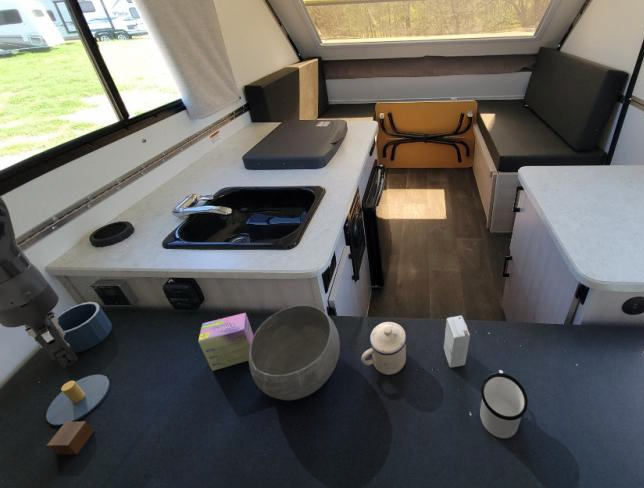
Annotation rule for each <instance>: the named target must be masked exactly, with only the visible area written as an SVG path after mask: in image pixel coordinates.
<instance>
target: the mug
mask: <svg viewBox="0 0 644 488" xmlns="http://www.w3.org/2000/svg"><path fill="white" fill-rule="evenodd" d="M480 396H481V402H480V407H479V416H480V420H481V423H482V426H483V427H484V428H485V429H486V431H487V432H489V434H491V435H492V436H494V437H496V438H499V439H509V438H512V437H513V436H514V435H516V433H517V432H518V430H519V428H520V427H519V425H520V423H521V419H522V417H524V415H525V414H526V412H527V409H528V405H529V399H528V394H527V391H526V389H525V388H524V386H523V385H522V383H520V381H519V380H517V379H516V378H515V377H513V376H512V375H510V374H508V373H504V371H503V370H502V369H499V370H498V372H493V373H491V374H489V375H488V376H486V377H485V378H484V379H483V381H482V384H481V387H480Z"/></svg>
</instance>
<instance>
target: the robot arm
mask: <svg viewBox="0 0 644 488" xmlns="http://www.w3.org/2000/svg"><path fill="white" fill-rule="evenodd" d="M59 299H60V298H59V295H58V294H57V292H56V291H55V290H54V288H53V287H52V286H51V284H50V283H49V281H48V280H47V279H46V278H45V276H44V275H43V274H42V272H41V271H40V269H38V267H37V266H35V265H34V264H33V263H32V261H30V259H29V258H28V257H27V255H26V254H25V252H24V251H23V249H22V248H21V247H20V246H19V244H18V242H17V240H16V234H15V229H14V226H13V222H12V217H11V214H10V211H9V208H8V206H7V204H6V202H5V200H4V198H2V196H0V325H1V326H2V327H5V328H9V329H10V328H11V329H12V328H19V327H23V326H24V327H25V328H24V330H25V332H26V333H27V335H28V336H29V337H32V338H33V339H34V340H35V342H36V344H37V345H38V346H39V348H41V349H43V350H44V351H45V352H46V353H47V355H48V356H49V358H50V360H52V361H57V362H58V364H59V365H60V366H61V367H62V368H64V369H66V368H68V367H70V366H71V365H73V364H75V363H77V362H78V360H79V358H78V356H77V355H76V353H74V352H73V351H72V350H71V347H70V344H69V343H67V342H66V341H65V339H64V338H65V332H64V331H63V329H62V328H61V327H60V325H59V324H58V322H59V320H58V319H57V318H56V317H57V316H56V314H55V312H54V308H56V306H57V305H58V303H59Z"/></svg>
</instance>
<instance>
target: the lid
mask: <svg viewBox="0 0 644 488" xmlns="http://www.w3.org/2000/svg"><path fill="white" fill-rule="evenodd" d="M110 383H111V382H110V379H109V378H108V376H106V375H104V374H91V375H87V376H85V377H82V378H80V379H78V380H76V381H75V380H68V381H67V382H65V383H64V384H63V385H62V386H61V388H60V390H61V391H60V392H59V393H58V395H56V397H55V398H54V399H53V400H52V402H51V403H50V404H49V406H48V408H47V410H46V414H45V419H46V421H47V423H48V424H49V425H51V426H53V427H62V426H63V424H64V423H65V422H78V421H79V420H81V419H83V418H84V417H86V416H87V415H89V414H90V413H92V412H93V411H94V410H95V409H96V408H97V407H98V406H99V405H101V403H102V402H103V401H104V399H105V398H106V397H107V395H108V393H109V390H110V386H111V384H110Z"/></svg>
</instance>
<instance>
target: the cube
mask: <svg viewBox="0 0 644 488" xmlns="http://www.w3.org/2000/svg"><path fill="white" fill-rule="evenodd" d="M94 432H95V430H94V429H93V427H91V426H90V424H89V423H88V422H87V421H75V422H65V423H64V424H63V426H60V428H59V430H58V431H57V432H55V434H54V436H53V437H52V438H51V439H50V441H49V442H48V443H47V444H46V447H48V449H50V450H51V451H52V452H53V453H54V454H55V455H57V456H58V455H60V456H61V455H62V456H64V455H68V456H69V455H78V454H79V453H80V451H81V450H82V449H83V447H84V446H85V445H86V443H87V442H88V440H89V439H90V437H91V436H92V435H93V433H94Z"/></svg>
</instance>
